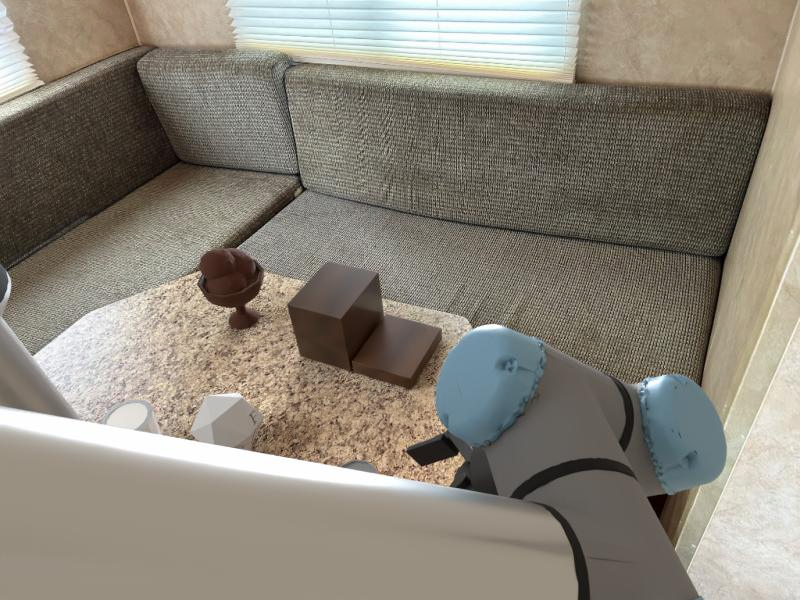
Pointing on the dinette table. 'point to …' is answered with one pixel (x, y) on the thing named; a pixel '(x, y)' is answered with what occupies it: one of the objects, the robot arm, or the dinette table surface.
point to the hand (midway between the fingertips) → (388, 505)
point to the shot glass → (133, 417)
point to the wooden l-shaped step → (359, 327)
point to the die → (227, 421)
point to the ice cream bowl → (231, 283)
